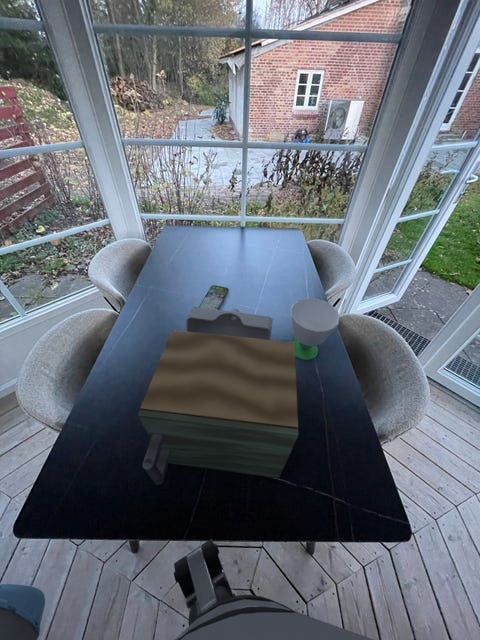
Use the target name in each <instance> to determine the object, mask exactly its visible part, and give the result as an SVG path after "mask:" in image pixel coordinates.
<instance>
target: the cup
mask: <svg viewBox="0 0 480 640" xmlns="http://www.w3.org/2000/svg"><path fill="white" fill-rule="evenodd" d="M340 319H341V317H340V314H339V311H338V310H337V309H336V308H335V306H333V305H332V304H331V303H330V302H327V301H325V300H323V299H318V298H315V297H313V298H312V297H305V298H302V299H298V300H297V301H296V302H294V303H293V304H292V306H291V308H290V324H291V328H290V329H291V333H292V336H293V337H294V340H292V341H291V342H294V343H295V358H297V359H300V360H302V361H311V360H313V359H315V358H316V357H317V356H318V354H319V348H318V346H319V345H323V344H324V343H325V342H326V341H327V340H328V338H329V337H330V335H332V333H333V332H334V331H335V329H336V328H337V327H338V326H339V325H340V321H341V320H340Z"/></svg>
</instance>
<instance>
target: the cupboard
mask: <svg viewBox="0 0 480 640" xmlns="http://www.w3.org/2000/svg"><path fill="white" fill-rule="evenodd" d="M297 387H298V386H297V369H296V356H295V343H294V342H292V341H282V340H272V339H270V340H264V339H254V338H244V337H234V336H224V335H214V334H204V333H194V332H186V331H184V330H175V329H174V330H173V329H171V331H170V334H169V336H168V338H167V341H166V343H165V345H164V348H163V351H162V353H161V356H160V357H159V361H158V363H157V365H156V368H155V371H154V373H153V375H152V378H151V380H150V383H149V385H148V388H147V390H146V393H145V396H144V398H143V400H142V402H141V405H140V410H146V411H154V412H162V413H170V414H178V415H187V416H195V417H203V418H211V419H219V420H227V421H236V422H244V423H252V424H260V425H268V426H277V427H285V428H293V429H298V428H299V414H298V390H297ZM298 430H299V429H298Z"/></svg>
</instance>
